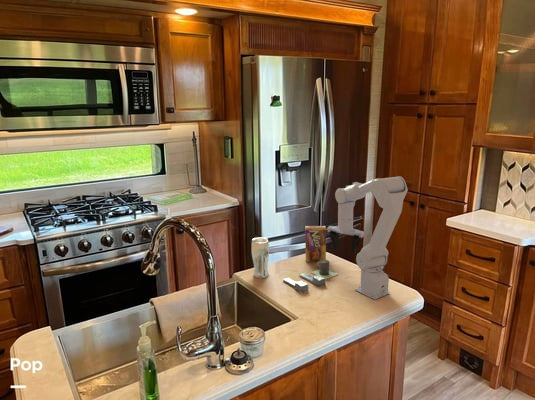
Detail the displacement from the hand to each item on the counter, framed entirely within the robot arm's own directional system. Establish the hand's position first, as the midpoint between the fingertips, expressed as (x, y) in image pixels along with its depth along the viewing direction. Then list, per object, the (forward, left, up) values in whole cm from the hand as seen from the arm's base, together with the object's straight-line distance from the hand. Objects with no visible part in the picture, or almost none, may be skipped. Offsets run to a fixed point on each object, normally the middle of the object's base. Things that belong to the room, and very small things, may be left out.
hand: (345, 251), depth 159 cm
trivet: (+5, +6, -10) cm, 13 cm away
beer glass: (+20, +27, -10) cm, 35 cm away
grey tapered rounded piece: (+8, +5, -9) cm, 13 cm away
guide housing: (+4, +18, -10) cm, 21 cm away
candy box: (+19, -1, -10) cm, 21 cm away
